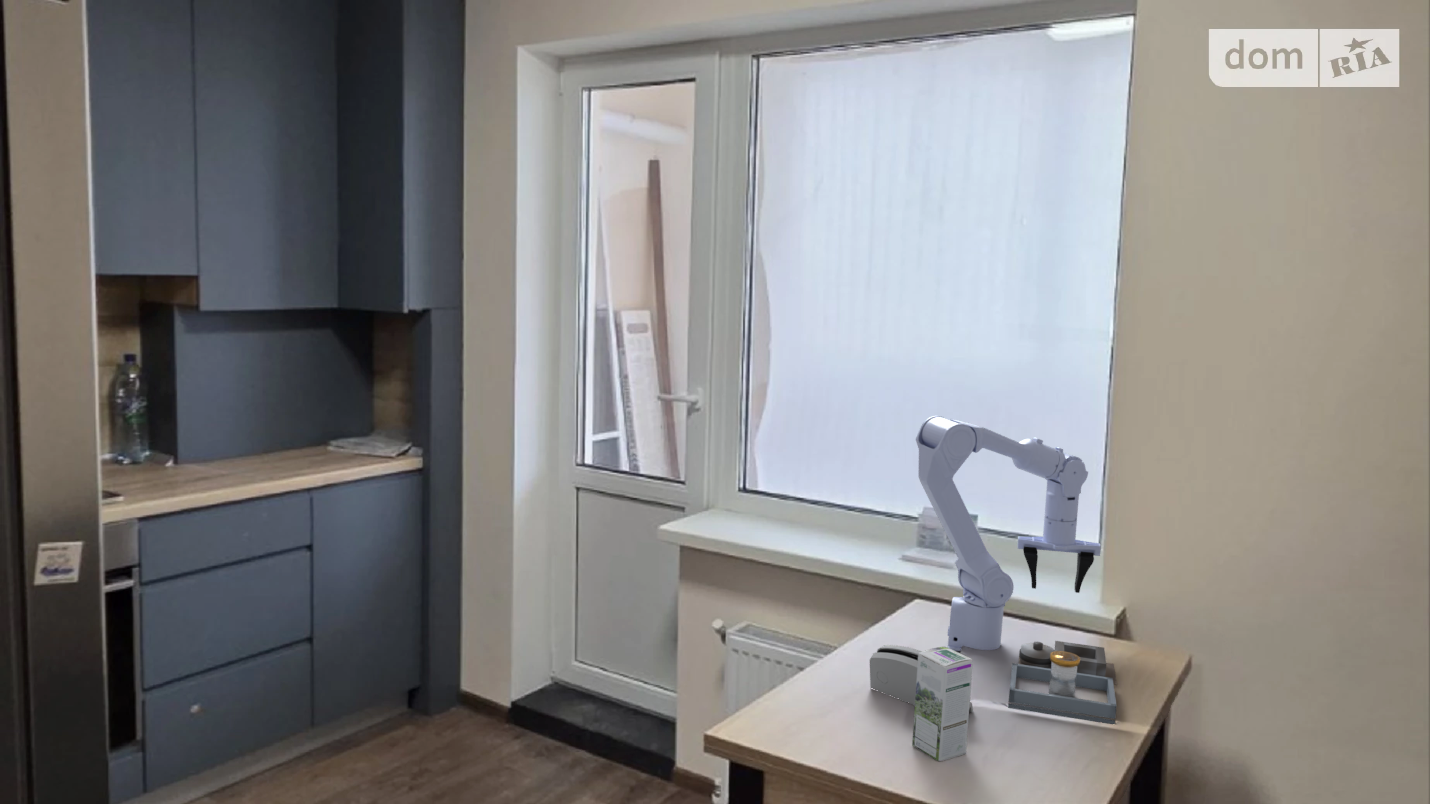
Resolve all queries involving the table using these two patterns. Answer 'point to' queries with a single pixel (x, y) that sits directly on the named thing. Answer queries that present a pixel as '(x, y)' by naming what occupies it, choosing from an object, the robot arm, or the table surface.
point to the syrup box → (942, 703)
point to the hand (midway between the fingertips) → (1055, 589)
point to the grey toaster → (896, 672)
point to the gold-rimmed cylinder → (1063, 673)
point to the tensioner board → (1089, 655)
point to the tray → (1062, 701)
